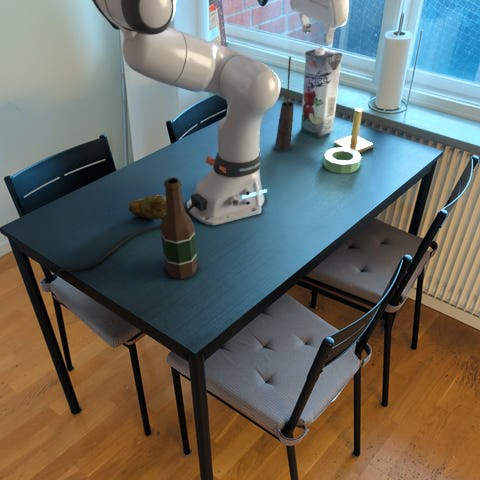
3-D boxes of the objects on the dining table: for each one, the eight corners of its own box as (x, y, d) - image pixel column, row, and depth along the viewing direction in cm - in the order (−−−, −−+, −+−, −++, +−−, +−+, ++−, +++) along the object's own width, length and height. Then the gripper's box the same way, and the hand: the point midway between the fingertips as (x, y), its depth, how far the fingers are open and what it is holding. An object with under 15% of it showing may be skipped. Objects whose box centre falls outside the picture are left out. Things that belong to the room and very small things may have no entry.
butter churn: (294, 157, 169) (300, 66, 150) (265, 153, 171) (268, 62, 152) (300, 145, 176) (307, 55, 156) (273, 141, 178) (276, 52, 158)
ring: (340, 177, 160) (341, 167, 158) (316, 162, 167) (316, 154, 165) (366, 166, 165) (368, 157, 163) (342, 153, 171) (343, 144, 169)
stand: (353, 155, 170) (358, 117, 162) (333, 144, 176) (338, 108, 167) (372, 147, 174) (379, 110, 165) (353, 137, 179) (358, 101, 171)
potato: (151, 204, 150) (147, 179, 144) (179, 222, 143) (176, 196, 137) (126, 215, 146) (121, 189, 140) (154, 235, 139) (150, 208, 133)
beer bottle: (198, 259, 131) (191, 171, 114) (197, 279, 125) (190, 189, 109) (167, 260, 131) (155, 172, 114) (164, 280, 125) (152, 190, 109)
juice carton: (314, 122, 188) (322, 40, 170) (336, 132, 182) (346, 48, 164) (296, 129, 184) (302, 46, 166) (318, 139, 178) (326, 54, 160)
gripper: (282, -31, 130) (285, 29, 140) (331, -13, 117) (330, 51, 127) (304, -37, 132) (304, 23, 142) (354, -20, 119) (351, 44, 129)
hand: (317, 37), depth 135 cm, fingers open, 8 cm apart
